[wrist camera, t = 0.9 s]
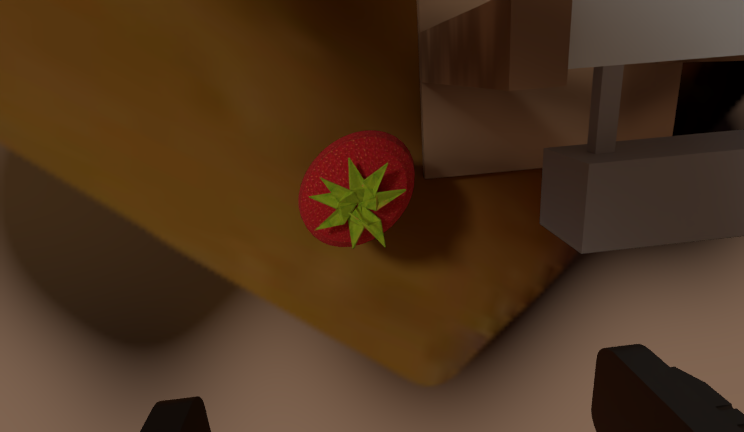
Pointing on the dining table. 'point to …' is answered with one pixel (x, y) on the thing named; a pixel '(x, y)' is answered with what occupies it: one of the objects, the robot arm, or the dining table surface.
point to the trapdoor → (651, 155)
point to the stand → (520, 87)
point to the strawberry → (357, 188)
